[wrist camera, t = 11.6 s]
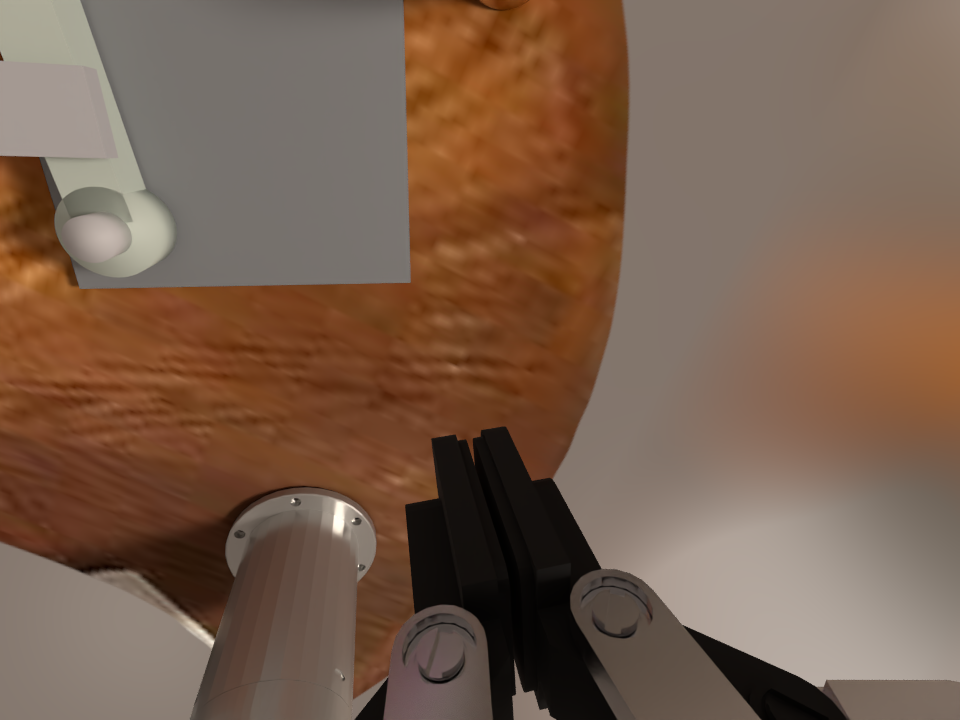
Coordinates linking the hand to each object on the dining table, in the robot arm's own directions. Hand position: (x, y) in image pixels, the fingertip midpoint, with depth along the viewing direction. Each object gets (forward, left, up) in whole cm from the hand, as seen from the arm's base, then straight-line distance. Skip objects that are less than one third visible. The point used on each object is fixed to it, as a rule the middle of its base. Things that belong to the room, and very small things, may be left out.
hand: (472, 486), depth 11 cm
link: (+8, +17, -26) cm, 32 cm away
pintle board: (+8, +11, -27) cm, 30 cm away
